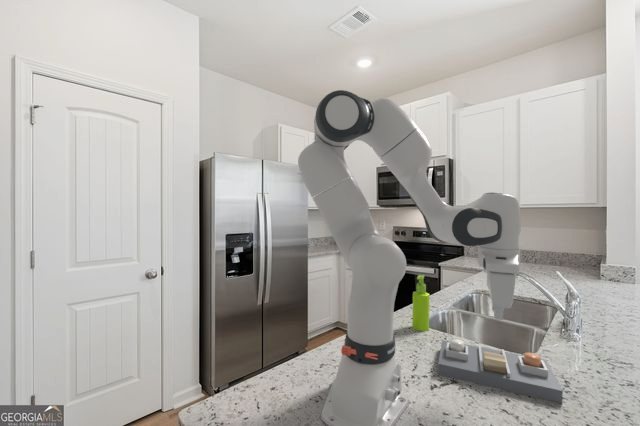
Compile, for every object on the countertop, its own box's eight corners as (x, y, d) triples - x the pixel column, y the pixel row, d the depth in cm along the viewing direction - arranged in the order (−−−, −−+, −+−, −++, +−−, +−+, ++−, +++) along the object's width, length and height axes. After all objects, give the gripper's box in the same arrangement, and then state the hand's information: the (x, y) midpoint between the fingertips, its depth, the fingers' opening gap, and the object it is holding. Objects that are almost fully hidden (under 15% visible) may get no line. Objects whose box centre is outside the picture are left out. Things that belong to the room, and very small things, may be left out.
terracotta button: (542, 369, 76) (542, 360, 76) (525, 365, 78) (525, 357, 78) (539, 362, 80) (539, 354, 80) (523, 359, 81) (523, 351, 81)
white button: (464, 353, 84) (464, 345, 84) (450, 350, 86) (450, 343, 86) (464, 348, 87) (464, 340, 87) (450, 345, 89) (450, 338, 89)
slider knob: (505, 373, 76) (505, 362, 76) (484, 369, 78) (484, 357, 78) (503, 366, 80) (504, 355, 80) (483, 362, 82) (483, 351, 82)
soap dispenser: (410, 330, 110) (411, 276, 110) (414, 323, 117) (414, 272, 116) (427, 333, 108) (427, 278, 107) (429, 326, 114) (430, 274, 113)
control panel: (562, 403, 70) (562, 383, 70) (438, 374, 82) (438, 357, 81) (545, 369, 84) (546, 353, 84) (442, 349, 96) (442, 334, 96)
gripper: (481, 252, 84) (480, 301, 85) (486, 265, 66) (485, 327, 66) (508, 254, 81) (506, 304, 82) (520, 267, 63) (519, 332, 63)
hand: (497, 314), depth 74 cm, fingers open, 4 cm apart
